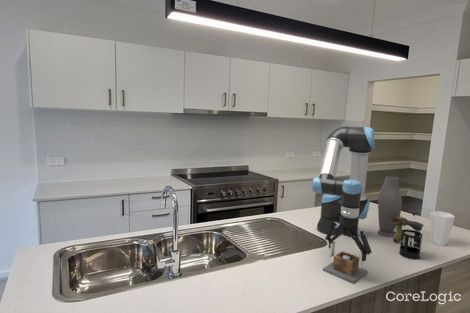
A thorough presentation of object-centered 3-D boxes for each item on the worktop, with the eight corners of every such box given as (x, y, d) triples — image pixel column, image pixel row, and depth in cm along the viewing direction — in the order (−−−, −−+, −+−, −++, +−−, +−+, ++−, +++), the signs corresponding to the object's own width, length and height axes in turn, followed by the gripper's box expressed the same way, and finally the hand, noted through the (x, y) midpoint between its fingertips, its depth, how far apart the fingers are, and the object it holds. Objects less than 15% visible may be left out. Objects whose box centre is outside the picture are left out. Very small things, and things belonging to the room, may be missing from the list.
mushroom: (405, 247, 158) (408, 220, 156) (387, 243, 162) (390, 217, 160) (406, 241, 166) (408, 216, 164) (389, 237, 170) (391, 213, 168)
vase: (393, 239, 167) (399, 180, 163) (370, 233, 177) (376, 176, 173) (401, 234, 176) (408, 178, 172) (379, 228, 186) (385, 174, 182)
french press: (413, 261, 142) (418, 216, 139) (394, 253, 150) (398, 210, 147) (425, 256, 148) (431, 212, 145) (407, 249, 156) (411, 207, 153)
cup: (452, 243, 165) (456, 214, 162) (449, 249, 157) (453, 218, 155) (429, 237, 172) (432, 209, 170) (425, 242, 165) (428, 213, 163)
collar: (333, 268, 130) (333, 256, 130) (341, 263, 136) (342, 251, 135) (350, 276, 125) (351, 262, 124) (358, 269, 130) (359, 257, 129)
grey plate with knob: (322, 270, 131) (323, 255, 130) (338, 260, 140) (339, 247, 139) (353, 283, 121) (354, 267, 120) (367, 272, 130) (368, 257, 129)
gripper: (319, 210, 134) (316, 253, 136) (375, 225, 115) (370, 275, 118) (328, 207, 139) (325, 249, 141) (382, 221, 121) (378, 269, 123)
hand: (345, 261), depth 130 cm, fingers open, 13 cm apart
